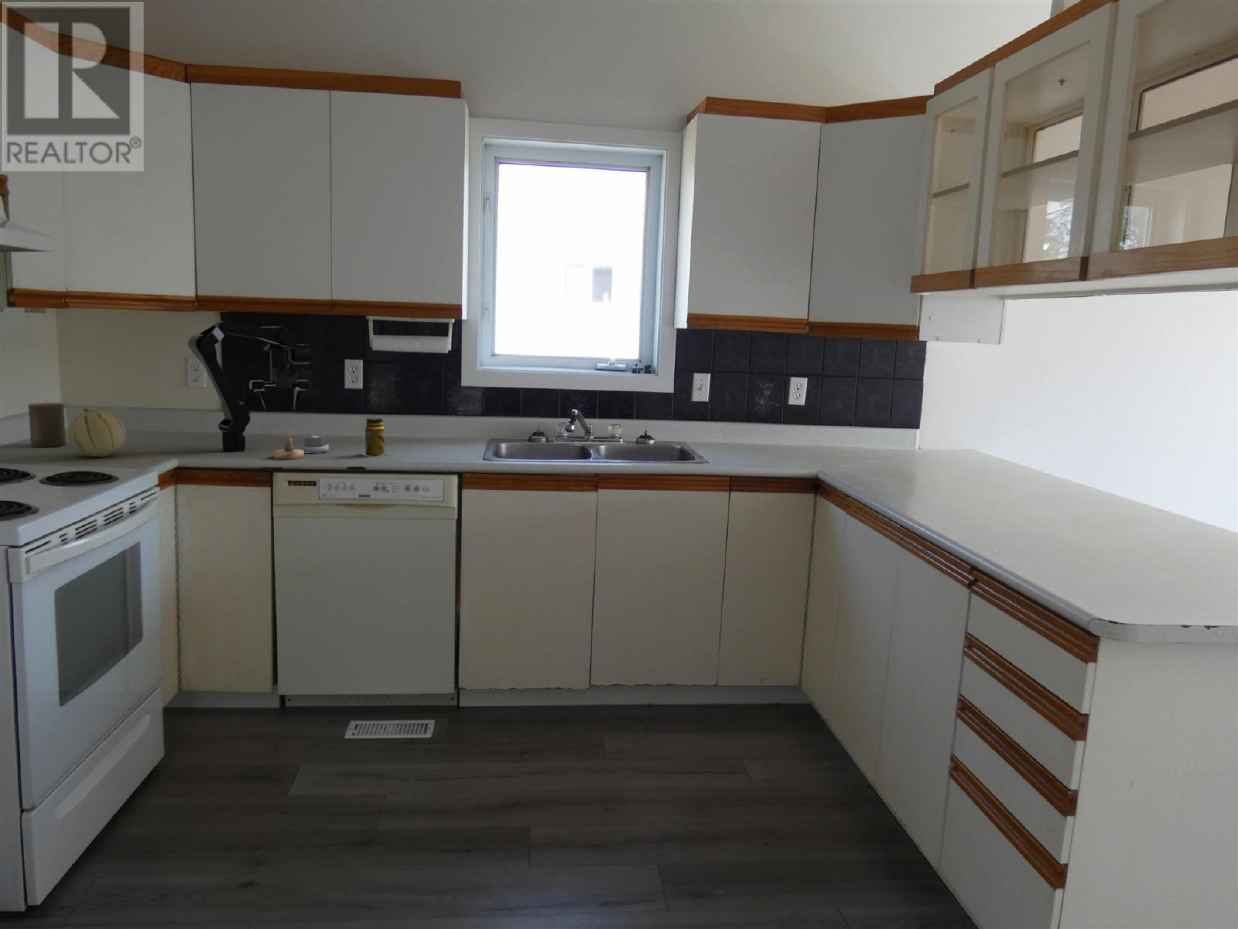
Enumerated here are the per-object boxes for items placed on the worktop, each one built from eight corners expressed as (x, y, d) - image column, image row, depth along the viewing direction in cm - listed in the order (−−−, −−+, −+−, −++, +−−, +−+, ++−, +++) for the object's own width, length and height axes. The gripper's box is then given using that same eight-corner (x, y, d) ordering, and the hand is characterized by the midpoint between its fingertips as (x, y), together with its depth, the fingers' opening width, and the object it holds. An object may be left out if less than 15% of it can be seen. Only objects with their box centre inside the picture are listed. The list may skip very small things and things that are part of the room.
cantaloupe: (133, 457, 270) (130, 409, 267) (78, 462, 260) (75, 411, 257) (117, 451, 280) (115, 404, 278) (64, 455, 270) (61, 406, 267)
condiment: (389, 455, 292) (389, 419, 290) (366, 457, 286) (365, 420, 284) (378, 452, 297) (378, 416, 295) (355, 454, 291) (354, 418, 289)
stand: (276, 460, 274) (275, 441, 273) (271, 456, 282) (270, 437, 281) (306, 458, 278) (306, 440, 277) (300, 454, 286) (300, 436, 285)
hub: (303, 454, 287) (303, 438, 287) (297, 450, 295) (297, 435, 294) (331, 452, 292) (331, 437, 291) (325, 448, 300) (325, 434, 299)
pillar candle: (64, 447, 285) (61, 400, 283) (28, 447, 281) (25, 401, 279) (67, 443, 294) (65, 398, 291) (33, 444, 289) (30, 398, 287)
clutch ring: (305, 447, 288) (305, 438, 288) (301, 444, 294) (301, 435, 294) (327, 446, 292) (327, 437, 291) (322, 443, 298) (322, 434, 297)
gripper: (253, 365, 285) (255, 413, 288) (313, 365, 295) (314, 412, 297) (248, 363, 295) (250, 410, 297) (306, 363, 304) (307, 408, 307)
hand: (280, 410), depth 299 cm, fingers open, 9 cm apart
